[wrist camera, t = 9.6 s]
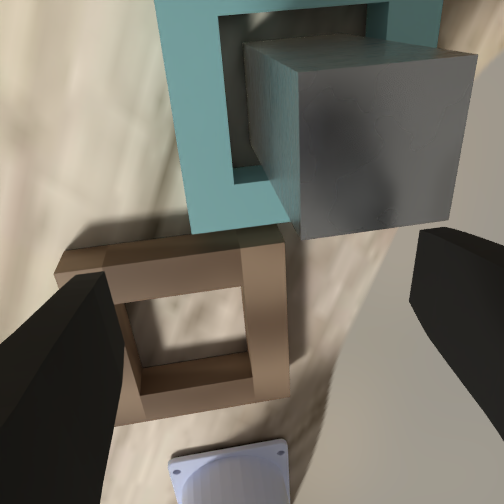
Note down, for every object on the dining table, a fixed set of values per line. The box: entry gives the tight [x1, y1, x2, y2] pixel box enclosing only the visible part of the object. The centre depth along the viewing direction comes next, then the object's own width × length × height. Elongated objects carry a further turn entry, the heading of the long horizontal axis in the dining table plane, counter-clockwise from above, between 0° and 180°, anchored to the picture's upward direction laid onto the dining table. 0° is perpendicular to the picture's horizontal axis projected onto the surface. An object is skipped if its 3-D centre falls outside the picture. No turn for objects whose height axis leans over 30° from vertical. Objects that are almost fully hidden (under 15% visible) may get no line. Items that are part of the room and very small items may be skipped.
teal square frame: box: [154, 0, 443, 234], centre depth 17 cm, size 10×10×2 cm
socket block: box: [54, 224, 290, 427], centre depth 22 cm, size 10×10×2 cm
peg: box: [242, 33, 478, 240], centre depth 14 cm, size 4×4×9 cm
